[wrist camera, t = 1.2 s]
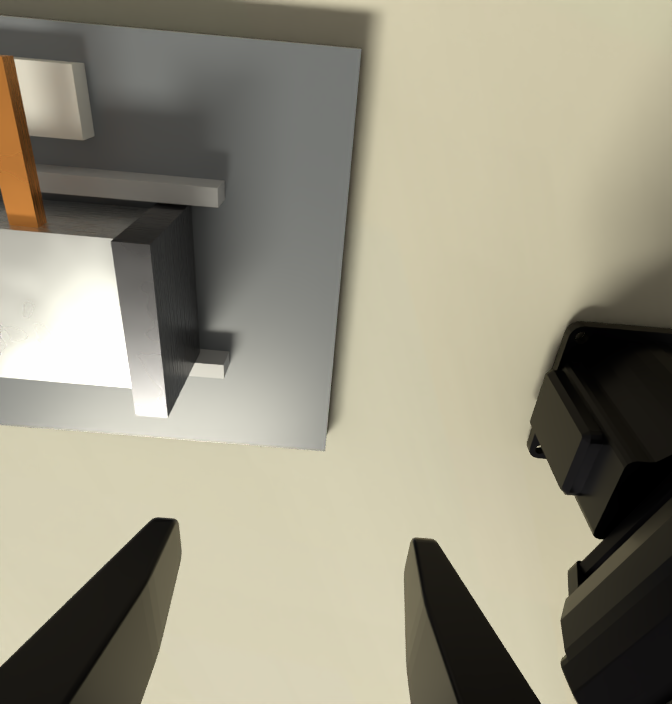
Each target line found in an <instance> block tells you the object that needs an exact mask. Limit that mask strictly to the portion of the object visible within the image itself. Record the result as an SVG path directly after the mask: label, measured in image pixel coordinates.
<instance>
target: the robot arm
mask: <svg viewBox="0 0 672 704" xmlns="http://www.w3.org/2000/svg"><path fill="white" fill-rule="evenodd" d="M580 332H585V334H584V335H583V336H582V337H581V338H578V339H575V336H576V335H577V334H578V333H580ZM530 424H531V426H532V429H531V432H530V435H529V438H528V441H527V447H528V450H529V452H530V454H531V455H532V456H533V457H536V458H543V459H547V461H548V463H549V465H550V467H551V470H552V472H553V474H554V476H555V478H556V481H557V483H558V485H559V487H560V489H561V490H562V491H563V492H564V494H565V495H574V496H575V498H576V500H577V502H578V504H579V506H580V508H581V511H582V513H583V515H584V517H585V519H586V521H587V523H588V525H589V527H590V529H591V531H592V533H593V535H594V537H595V538H598V539H604V540H603V541H602V542H601V543H600V544H599V545H598V546H597V547H596V548H595V549H594V550H593V551H592V552H591V553H590V554H589V555H588V556H587V557H586V558H585V559H584V560H583V561H577V562H576V563H575V564H574V565H573V566H572V567H571V568H570V569H569V570H568V591H569V597H568V598H567V599H566V600H565V604H564V608H563V612H562V616H561V627H562V634H563V641H564V648H565V653H566V655H565V656H564V657H563V658H562V659H561V668H562V670H563V673H564V676H565V678H566V680H567V683H568V685H569V687H570V689H571V692H572V694H573V696H574V699H575V701H576V702H577V704H672V329H666V328H654V327H642V326H631V325H619V324H607V323H596V322H584V321H580V322H575V323H573V324H571V325H570V326H569V327H567V329H566V331H565V333H564V336H563V339H562V342H561V345H560V348H559V351H558V354H557V356H556V359H555V362H554V365H553V368H552V370H550V371H549V372H548V373H547V374H546V375H545V378H544V381H543V384H542V387H541V390H540V393H539V396H538V399H537V402H536V405H535V408H534V411H533V414H532V417H531V420H530ZM539 445H541V447H539V448H536V447H537V446H539ZM180 561H181V540H180V531H179V523H178V521H177V520H176V519H172V518H160V517H158V518H154V519H152V520H151V521H149V522H148V523H147V524H146V525H145V526H144V527H143V528H142V529H141V530H140V531H139V532H138V533H137V534H136V535H135V536H134V537H133V538H132V539H131V540H130V541H129V542H128V543H127V544H126V545H125V546H124V547H123V548H122V549H121V550H120V551H119V552H118V553H117V554H116V555H115V556H114V557H113V558H112V559H111V560H109V561H108V562H107V563H106V564H105V565H104V566H103V567H102V568H101V569H100V570H99V571H98V572H97V573H96V574H95V575H94V576H93V577H92V578H91V579H90V580H89V581H88V582H87V583H86V584H85V585H84V586H83V587H82V588H81V589H80V590H79V591H78V592H77V593H76V594H75V595H74V596H73V597H72V598H71V599H69V600H68V601H67V602H66V603H65V604H64V605H63V606H62V607H61V608H60V609H59V610H58V611H57V612H56V613H55V614H54V615H53V616H52V617H51V618H50V619H49V620H48V621H47V622H46V623H45V624H44V625H43V626H42V627H41V628H40V629H39V630H38V631H37V632H36V633H35V634H34V635H33V636H32V637H31V638H30V639H28V640H27V641H26V642H25V643H24V644H23V645H22V646H21V647H20V648H19V649H18V650H17V651H16V652H15V653H14V654H13V655H12V656H11V657H10V658H9V659H8V660H7V661H6V662H5V663H4V664H3V665H2V666H1V667H0V704H141V701H142V699H143V696H144V693H145V690H146V687H147V685H148V682H149V679H150V676H151V673H152V670H153V668H154V665H155V662H156V658H157V655H158V652H159V649H160V645H161V641H162V637H163V633H164V629H165V625H166V621H167V616H168V612H169V608H170V604H171V600H172V595H173V591H174V587H175V583H176V578H177V574H178V570H179V566H180ZM404 597H405V637H406V665H407V676H408V686H409V693H410V700H411V704H541V703H540V701H539V700H538V698H537V697H536V695H535V694H534V692H533V690H532V689H531V687H530V686H529V684H528V683H527V681H526V680H525V678H524V676H523V675H522V673H521V672H520V670H519V669H518V667H517V666H516V664H515V662H514V661H513V659H512V658H511V656H510V655H509V653H508V652H507V650H506V648H505V647H504V645H503V644H502V642H501V641H500V639H499V638H498V636H497V634H496V633H495V631H494V630H493V628H492V627H491V625H490V624H489V622H488V621H487V619H486V617H485V616H484V614H483V613H482V611H481V610H480V608H479V607H478V605H477V603H476V602H475V600H474V599H473V597H472V596H471V594H470V593H469V591H468V589H467V588H466V586H465V585H464V583H463V582H462V580H461V579H460V577H459V575H458V574H457V572H456V571H455V569H454V568H453V566H452V565H451V563H450V561H449V560H448V558H447V557H446V555H445V554H444V552H443V551H442V549H441V547H440V546H439V544H438V543H437V542H436V541H435V540H434V539H428V538H413V539H412V540H411V542H410V547H409V551H408V556H407V560H406V565H405V571H404Z"/></svg>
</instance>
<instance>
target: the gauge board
mask: <svg viewBox="0 0 672 704" xmlns="http://www.w3.org/2000/svg"><path fill="white" fill-rule="evenodd" d="M0 55H9V56H13V57H14V62H15V67H16V72H17V77H18V81H19V86H20V91H21V96H22V101H23V106H24V111H25V116H26V121H27V126H28V131H29V136H30V141H31V146H32V151H33V156H34V160H35V165H36V170H37V175H38V180H39V185H40V190H41V195H42V199H47V200H59V201H70V202H81V203H93V204H104V205H116V206H127V207H139V208H151V207H152V206H154V205H155V204H156V203H157V202H159V203H170V204H182V205H191V207H192V224H193V240H194V257H195V274H196V290H197V307H198V324H199V340H200V354H199V356H198V358H197V360H196V362H195V364H194V366H193V368H192V370H191V372H190V374H189V376H188V378H187V380H186V382H185V384H184V386H183V388H182V390H181V392H180V394H179V396H178V398H177V400H176V402H175V405H174V407H173V409H172V411H171V413H170V415H169V417H168V418H161V417H148V416H136V415H135V408H134V401H133V394H132V388H126V387H114V386H102V385H90V384H78V383H66V382H54V381H42V380H30V379H18V378H5V377H0V425H8V426H20V427H33V428H45V429H57V430H69V431H82V432H94V433H106V434H118V435H131V436H143V437H155V438H167V439H180V440H192V441H204V442H217V443H229V444H241V445H253V446H266V447H278V448H290V449H302V450H315V451H325V446H326V435H327V424H328V413H329V402H330V391H331V380H332V369H333V358H334V347H335V336H336V325H337V314H338V303H339V291H340V280H341V269H342V258H343V247H344V236H345V225H346V214H347V203H348V192H349V181H350V170H351V159H352V148H353V137H354V126H355V115H356V104H357V93H358V82H359V70H360V59H361V48H352V47H342V46H331V45H320V44H309V43H298V42H288V41H277V40H266V39H255V38H244V37H233V36H223V35H212V34H201V33H190V32H179V31H169V30H158V29H147V28H136V27H125V26H114V25H104V24H93V23H82V22H71V21H60V20H50V19H39V18H28V17H17V16H6V15H0ZM0 195H2V192H1V188H0Z"/></svg>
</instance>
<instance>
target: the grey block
mask: <svg viewBox="0 0 672 704" xmlns="http://www.w3.org/2000/svg"><path fill="white" fill-rule="evenodd" d="M0 188H1V192H2V195H0V377H5V378H18V379H30V380H42V381H54V382H66V383H78V384H90V385H102V386H114V387H126V388H132V394H133V401H134V408H135V415H136V416H148V417H161V418H168V417H169V415H170V413H171V411H172V409H173V407H174V405H175V402H176V400H177V398H178V396H179V394H180V392H181V390H182V388H183V386H184V384H185V382H186V380H187V378H188V376H189V374H190V372H191V370H192V368H193V366H194V364H195V362H196V360H197V358H198V356H199V354H200V340H199V324H198V307H197V290H196V274H195V257H194V240H193V224H192V207H191V205H182V204H170V203H159V202H157V203H156V204H155V205H154V206H152V207H151V208H139V207H127V206H116V205H104V204H93V203H81V202H70V201H59V200H47V199H42V195H41V190H40V185H39V180H38V175H37V170H36V165H35V160H34V156H33V151H32V146H31V141H30V136H29V131H28V126H27V121H26V116H25V111H24V106H23V101H22V96H21V91H20V86H19V81H18V77H17V72H16V67H15V62H14V57H13V56H9V55H0Z"/></svg>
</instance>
